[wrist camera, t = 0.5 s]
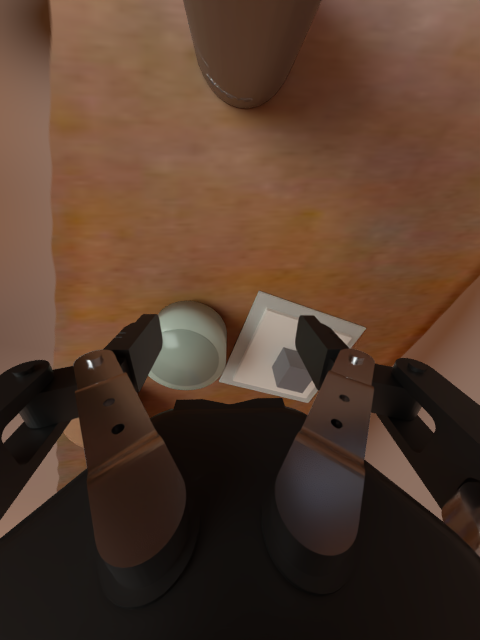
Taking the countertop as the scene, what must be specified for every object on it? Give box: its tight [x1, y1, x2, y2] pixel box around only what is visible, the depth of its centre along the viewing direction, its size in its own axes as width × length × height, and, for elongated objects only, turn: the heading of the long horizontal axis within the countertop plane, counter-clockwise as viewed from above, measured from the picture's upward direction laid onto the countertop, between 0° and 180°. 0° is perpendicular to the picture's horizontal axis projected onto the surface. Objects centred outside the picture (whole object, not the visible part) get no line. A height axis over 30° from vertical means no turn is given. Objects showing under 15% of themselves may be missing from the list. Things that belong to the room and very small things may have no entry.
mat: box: [219, 291, 366, 403], centre depth 36 cm, size 19×19×1 cm
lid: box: [233, 307, 352, 398], centre depth 34 cm, size 15×15×6 cm
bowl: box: [148, 301, 227, 390], centre depth 30 cm, size 11×11×8 cm
